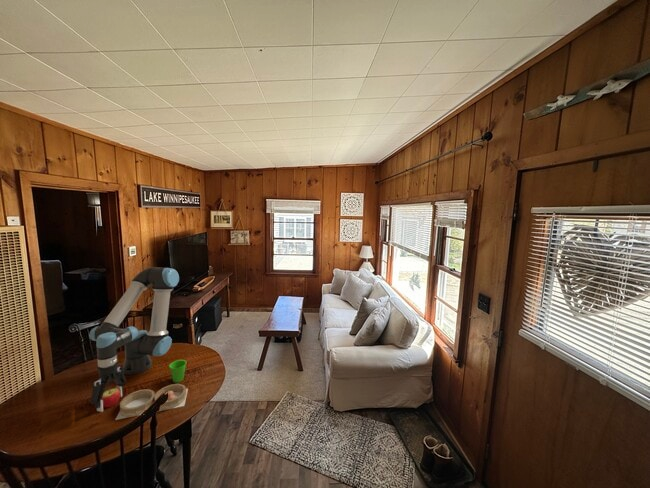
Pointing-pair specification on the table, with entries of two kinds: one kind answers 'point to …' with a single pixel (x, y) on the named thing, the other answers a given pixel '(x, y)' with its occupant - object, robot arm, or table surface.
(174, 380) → the cup
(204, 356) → the table surface
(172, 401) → the ring
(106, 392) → the apple
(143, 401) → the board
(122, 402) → the ring
